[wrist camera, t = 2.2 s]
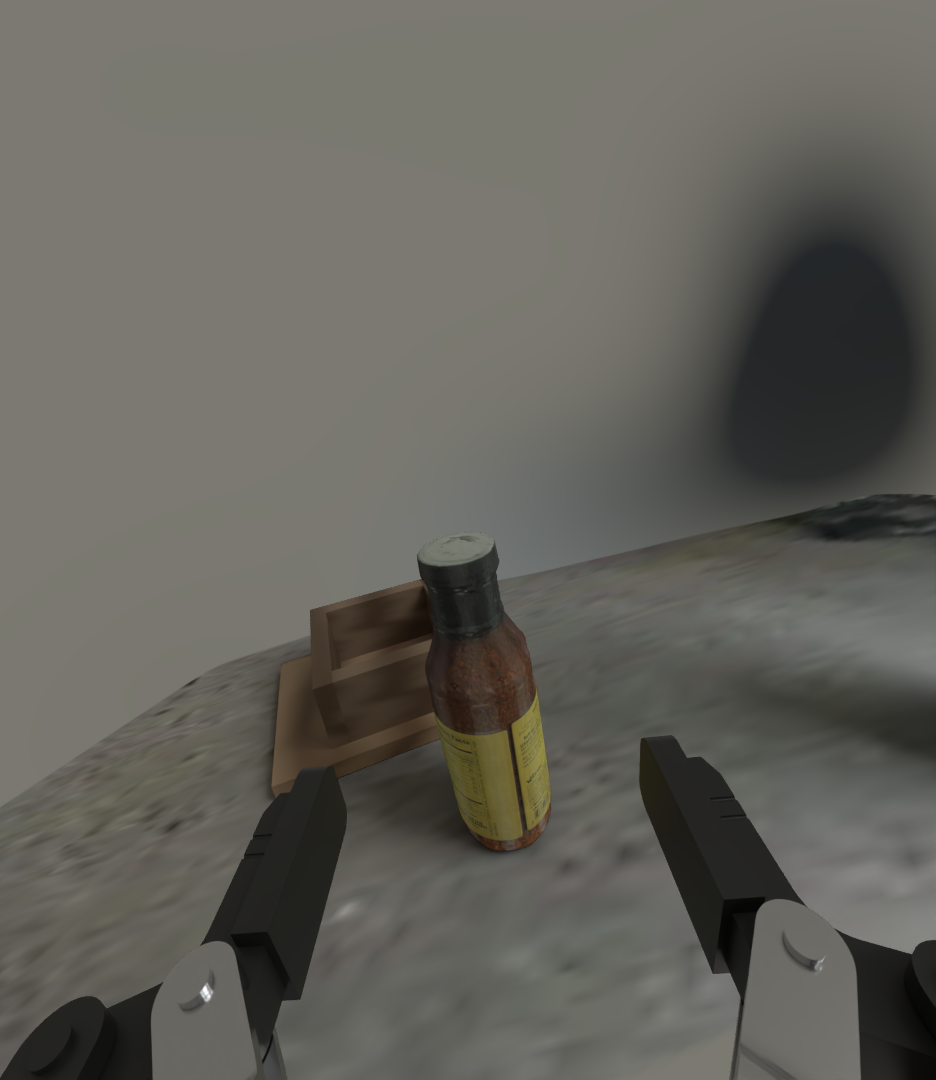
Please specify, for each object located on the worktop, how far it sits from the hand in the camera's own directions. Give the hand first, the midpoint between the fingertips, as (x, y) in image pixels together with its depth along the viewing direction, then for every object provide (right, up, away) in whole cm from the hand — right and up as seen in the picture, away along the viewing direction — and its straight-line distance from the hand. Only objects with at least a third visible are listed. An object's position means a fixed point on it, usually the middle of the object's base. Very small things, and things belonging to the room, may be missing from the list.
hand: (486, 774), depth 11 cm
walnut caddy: (-7, -8, +31) cm, 33 cm away
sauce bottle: (+2, -12, +18) cm, 22 cm away
